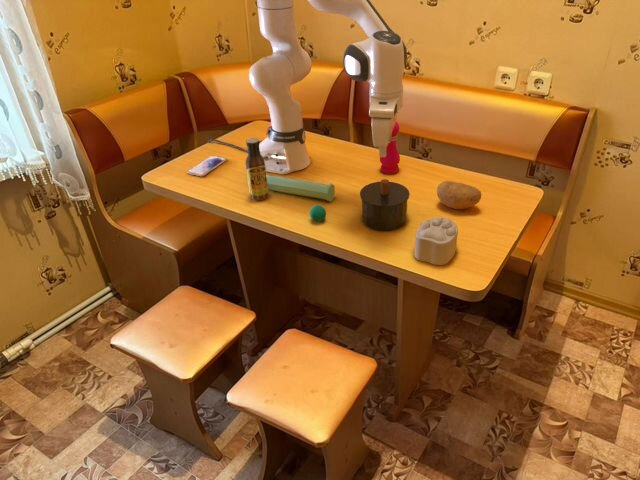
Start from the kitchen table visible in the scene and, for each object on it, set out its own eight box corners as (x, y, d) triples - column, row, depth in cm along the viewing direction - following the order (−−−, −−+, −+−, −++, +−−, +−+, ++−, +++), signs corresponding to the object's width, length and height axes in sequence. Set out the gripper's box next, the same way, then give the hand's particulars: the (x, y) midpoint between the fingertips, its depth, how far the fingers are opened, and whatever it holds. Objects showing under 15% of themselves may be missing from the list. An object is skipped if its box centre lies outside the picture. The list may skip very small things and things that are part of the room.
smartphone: (226, 158, 187) (202, 175, 176) (227, 160, 188) (202, 177, 177) (211, 154, 189) (186, 171, 179) (211, 157, 190) (186, 173, 179)
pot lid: (355, 207, 144) (355, 191, 141) (364, 183, 155) (364, 167, 152) (406, 211, 141) (407, 195, 138) (411, 186, 153) (412, 171, 150)
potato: (475, 218, 152) (479, 195, 147) (431, 209, 157) (433, 187, 152) (482, 203, 159) (486, 181, 154) (440, 195, 164) (442, 173, 159)
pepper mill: (400, 174, 176) (401, 120, 164) (379, 175, 176) (380, 120, 164) (399, 165, 182) (401, 112, 170) (379, 165, 182) (379, 112, 170)
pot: (358, 229, 149) (357, 204, 144) (366, 205, 160) (366, 182, 154) (403, 233, 147) (404, 208, 142) (408, 209, 157) (409, 185, 152)
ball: (308, 223, 152) (307, 209, 149) (312, 215, 156) (311, 201, 152) (324, 225, 151) (323, 211, 148) (328, 216, 155) (327, 202, 152)
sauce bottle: (253, 203, 162) (243, 146, 150) (248, 194, 167) (238, 138, 154) (272, 198, 164) (264, 142, 152) (266, 190, 169) (258, 134, 156)
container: (260, 173, 165) (328, 184, 158) (269, 172, 171) (335, 183, 163) (259, 191, 167) (326, 202, 159) (268, 189, 172) (334, 200, 165)
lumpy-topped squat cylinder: (410, 257, 137) (411, 231, 132) (427, 234, 146) (430, 208, 141) (445, 267, 133) (448, 241, 128) (461, 243, 142) (465, 217, 137)
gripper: (380, 86, 139) (380, 133, 148) (367, 112, 123) (368, 164, 132) (402, 87, 138) (401, 135, 147) (392, 114, 122) (391, 165, 131)
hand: (385, 149), depth 139 cm, fingers open, 8 cm apart
